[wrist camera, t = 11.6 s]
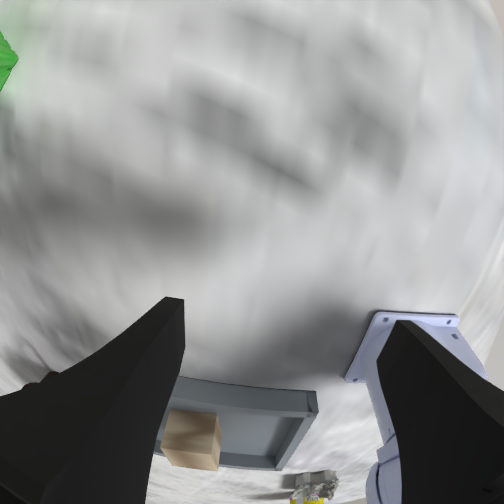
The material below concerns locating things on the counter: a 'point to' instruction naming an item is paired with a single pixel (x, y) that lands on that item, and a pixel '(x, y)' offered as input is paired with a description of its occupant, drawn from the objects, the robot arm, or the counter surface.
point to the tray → (247, 420)
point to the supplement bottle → (307, 500)
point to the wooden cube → (192, 440)
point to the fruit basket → (6, 60)
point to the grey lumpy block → (316, 485)
